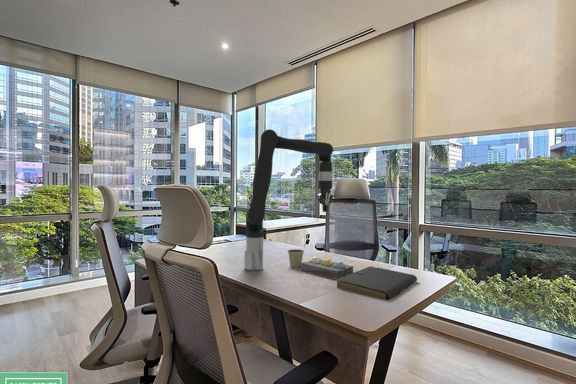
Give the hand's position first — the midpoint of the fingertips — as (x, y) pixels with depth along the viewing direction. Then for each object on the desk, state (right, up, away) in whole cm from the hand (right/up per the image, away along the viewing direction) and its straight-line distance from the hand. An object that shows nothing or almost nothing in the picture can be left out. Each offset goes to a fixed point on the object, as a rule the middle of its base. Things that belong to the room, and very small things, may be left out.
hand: (325, 211), depth 166 cm
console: (0, -31, -8) cm, 32 cm away
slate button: (+5, -30, -14) cm, 33 cm away
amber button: (0, -30, -8) cm, 31 cm away
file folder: (+21, -32, -28) cm, 47 cm away
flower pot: (-16, -31, +4) cm, 35 cm away
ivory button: (-6, -29, -3) cm, 30 cm away
